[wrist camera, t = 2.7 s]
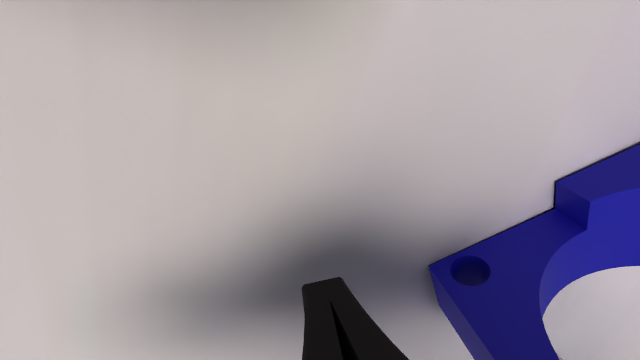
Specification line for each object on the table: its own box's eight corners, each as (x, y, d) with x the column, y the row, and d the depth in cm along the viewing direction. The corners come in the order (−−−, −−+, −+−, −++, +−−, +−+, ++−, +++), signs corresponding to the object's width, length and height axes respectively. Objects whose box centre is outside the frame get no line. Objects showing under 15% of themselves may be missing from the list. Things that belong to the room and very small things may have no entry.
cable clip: (691, 121, 13) (976, 199, 8) (667, 202, 16) (876, 303, 10) (422, 242, 13) (537, 397, 8) (439, 305, 16) (537, 455, 10)
